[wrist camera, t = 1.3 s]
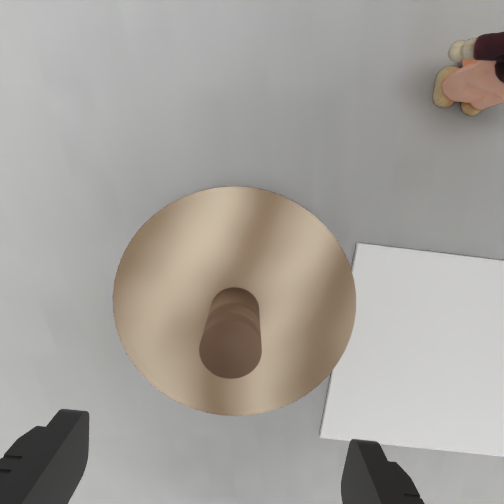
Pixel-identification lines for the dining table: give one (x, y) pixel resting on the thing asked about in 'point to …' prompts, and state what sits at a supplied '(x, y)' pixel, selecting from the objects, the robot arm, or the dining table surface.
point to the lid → (234, 301)
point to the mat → (422, 353)
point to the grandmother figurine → (473, 75)
